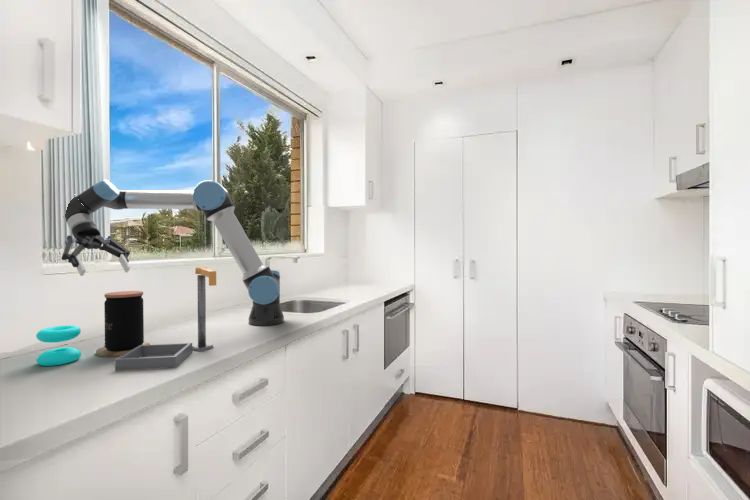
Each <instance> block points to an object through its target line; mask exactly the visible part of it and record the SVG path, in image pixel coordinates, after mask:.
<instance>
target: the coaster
mask: <svg viewBox="0 0 750 500" xmlns="http://www.w3.org/2000/svg"><path fill="white" fill-rule="evenodd" d="M142 345H152V344H151V343H150V342H146V341H144V342H143V344H142ZM129 351H131V350H127V351H108V350H107V349H106V348H105V346H103V347H99V348H98V349H97V350H96V351H95V355H96V356H97V357H102V358H116V357H117V358H119V357H121V356H122V355H124V354H126V353H127V352H129Z"/></svg>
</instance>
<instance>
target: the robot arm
mask: <svg viewBox="0 0 750 500" xmlns="http://www.w3.org/2000/svg"><path fill="white" fill-rule="evenodd" d="M76 195H77V196H76V197H74V198H73V199H72V200H71V201H70V203H69V204H68V207H67V210H66V214H65V218H66V220H65V221H66V222H65V223H66V224H67V226H68V228H69V231H70V232H71V234H72V235H67V237H66V239H65V248H64V251H63V253H62V255H61V257H60V258H61V260H63V261H66V260H67V262H68V263H70V264H71V265H72V267H73V268H76V269H77V271H78V274H79V276H81V277H83V276H84V275H85V273H86V271H87V269H86V267H85V266H84V264H83V261H82V260H81V258H80V254H81V252H84V251H83V250H85V249H87V250H91V249H92V250H93V249H94V250H97V249H98V250H101V251H104V252H107V253H109V254H111V255H112V256H114V257H117V258H118V262H119V264H120V265H121V267H122V269H123V270H124V272H125V273H128V272H129V271H130V269H131V266H130V264H129V262H130V260H129V256H130V254H131V251H130V250H129V249H127V248H126V247H124V246H123V245H122V244H121V243H119V242H118V241H116V240H115V239H114V237H113V236H112V235H108V236H107V237H103V236H102V235H101V232H100V230H99V228H98V226H97V224H96V222H95V221H94V219H93V216H91V215H92V214H93V213H95V212H97V211H98V210H99V209H101V208H104V207H105V208H109V209H111V210H117V211H118V210H124V209H125V210H126V209H127V210H128V209H129V210H130V209H131V210H132V209H133V210H134V209H137V210H138V209H139V210H140V209H141V210H142V209H144V210H145V209H148V210H149V209H151V210H152V209H153V210H158V209H159V210H160V209H161V210H162V209H163V210H165V209H166V210H168V209H173V210H174V209H175V210H176V209H177V210H179V209H180V210H196V211H197V212H202V214H203V215H204V217H205V218H206V221H209V222H212V223H213V224H214V225H215V227H216V229H217V231H218V232H219V235H220V237H221V238H222V240H223V241H224V243H225V245H226V247H227V248H228V250H229V251H230V252H229V253H230V254H231V255H232V257H233V259H234V260H235V262H236V264H237V265H238V268H239V269H240V271H241V273H242V276H243V277H242V279H241V280H242V282H243V284H244V286H245V288H246V289H247V290H248V291H247V292H248V296H249V297H250V300H252V307H251V310H250V314H249V316H248V325H250V326H251V325H253V326H273V325H274V326H275V325H278V324H282V323H284V322H285V317H284V316H285V315H284V313H283V310H282V307H281V304H280V303H281V300H280V299H281V294H280V293H281V292H280V291H281V290H280V289H281V288H280V287H281V283H280V279H281V274H280V272H279V271H278V270H275V269H274V270H273V269H271V268H270V267H269V265H267V264H264V263H263V261H262V260H261V258H260V256H259V254H258V253H257V252H256V249H255V248H254V246H253V244H252V242H251V241H250V239H249V237H248V235H247V234H246V232H245V230H244V228H243V226H242V225H241V223H240V221H239V220H238V218H237V216H236V214H235V213H234V212H235V209H236V207H235V205H234V203H233V201H232V199H231V195H230V193H229V192H228V190H227V189H226V188H225V187H224V186H223V185H222V184H221V183H220V182H218V181H216V180H211V179H209V180H208V179H206V180H203V181H200V182H199V183H197V184H196V186H195V187H194V189H193V190H142V189H141V190H132V189H131V190H129V189H127V190H125V189H118V188H117V187H116V186H115V185H114V184H113V183H112V182H110V181H109V180H108V179H102V180H100V181H98V182H96V183H94V184H93V185H92V186H90V187H89V188H87V189H86V190H84V191H83V192H81V193H80V194H76ZM78 199H79V200H78ZM81 203H82V204H83V205H84V206H83V205H82V204H81ZM65 218H64V219H65ZM74 243H76V244H78V245H77V247H76V248H75V249H74V250H73V251H72V253H69V252H70V251H71V247H72V245H73V244H74Z"/></svg>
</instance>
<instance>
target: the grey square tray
mask: <svg viewBox="0 0 750 500" xmlns="http://www.w3.org/2000/svg"><path fill="white" fill-rule="evenodd" d="M192 346H193V342H181V343H180V342H179V343H159V344H157V343H156V344H154V343H153V344H151V345H139V346H138V347H136V348H134V349H132V350H131V351H129V352H127V353H126V354H124V355H122V356H118V357H117V358H116V359H114V371H115V372H116V371H134V370H136V371H137V370H151V369H153V370H154V369H169V368H170V369H171V368H172V369H173V368H177V366H179V365H180V364H181V363H182V362H184V360H186V359H187V358H188V357H189V356H190V355H191V354H192V353H193V350H192ZM155 355H156V356H155ZM157 355H158V356H157ZM160 355H164V356H160ZM142 356H143V357H142ZM144 356H146V357H144Z"/></svg>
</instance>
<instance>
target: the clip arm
mask: <svg viewBox="0 0 750 500" xmlns="http://www.w3.org/2000/svg"><path fill="white" fill-rule="evenodd" d="M194 269H195V274H196V275H204V276H205V278H208V286H211V287H212V286H213V287H214V286H217V270H214V269H210V268H208V267H206V266H205V267H204V266H203V267H199V266H198V267H195V268H194Z"/></svg>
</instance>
